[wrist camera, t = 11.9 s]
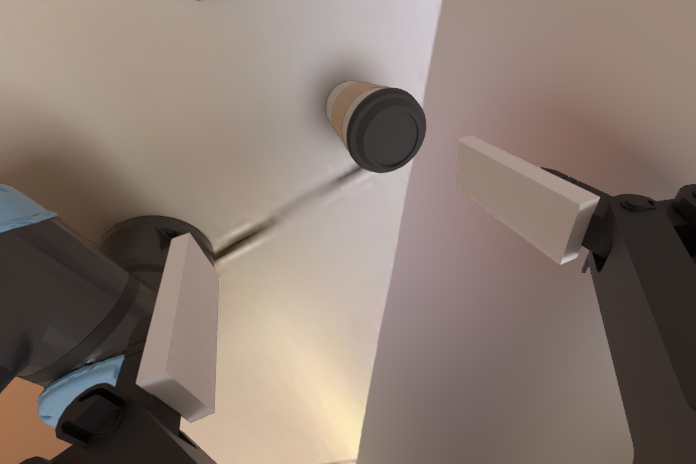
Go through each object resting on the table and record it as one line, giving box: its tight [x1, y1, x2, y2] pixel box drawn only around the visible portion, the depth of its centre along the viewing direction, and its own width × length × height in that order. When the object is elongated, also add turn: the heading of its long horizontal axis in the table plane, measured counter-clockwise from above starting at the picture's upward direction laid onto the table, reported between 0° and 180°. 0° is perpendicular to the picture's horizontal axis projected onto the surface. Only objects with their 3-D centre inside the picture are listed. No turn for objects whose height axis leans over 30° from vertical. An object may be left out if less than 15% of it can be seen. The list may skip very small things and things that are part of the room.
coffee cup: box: [326, 81, 426, 173], centre depth 37 cm, size 9×9×15 cm
